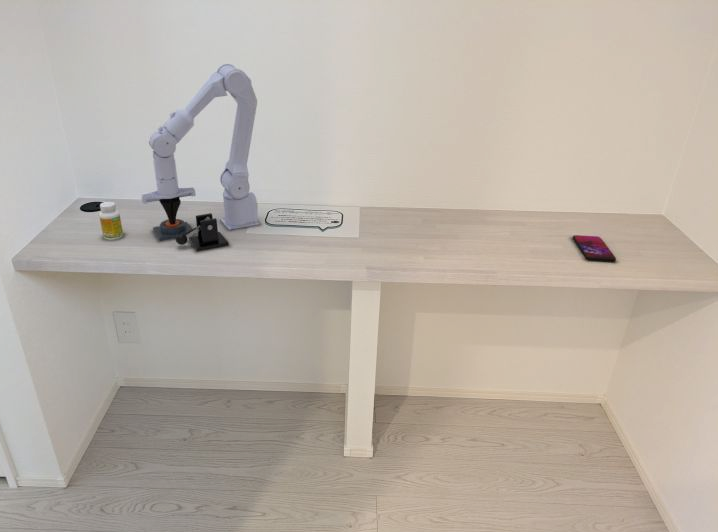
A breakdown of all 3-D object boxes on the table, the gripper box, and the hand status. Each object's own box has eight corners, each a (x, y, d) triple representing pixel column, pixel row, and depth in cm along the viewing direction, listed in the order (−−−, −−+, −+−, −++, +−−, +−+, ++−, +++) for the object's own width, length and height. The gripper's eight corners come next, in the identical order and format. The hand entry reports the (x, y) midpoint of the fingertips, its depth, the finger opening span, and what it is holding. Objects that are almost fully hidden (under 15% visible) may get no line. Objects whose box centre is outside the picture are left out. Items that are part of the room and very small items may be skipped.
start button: (178, 224, 167) (177, 219, 167) (181, 229, 164) (181, 224, 163) (164, 227, 166) (163, 221, 165) (167, 232, 163) (167, 226, 162)
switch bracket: (196, 252, 155) (194, 225, 151) (188, 241, 162) (185, 215, 158) (228, 246, 159) (226, 220, 155) (219, 235, 165) (217, 209, 161)
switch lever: (180, 248, 155) (174, 239, 153) (177, 244, 158) (171, 235, 156) (215, 227, 157) (210, 218, 155) (212, 223, 160) (206, 214, 158)
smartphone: (599, 236, 165) (617, 259, 152) (599, 239, 166) (616, 262, 153) (572, 234, 166) (587, 257, 153) (571, 237, 166) (586, 260, 153)
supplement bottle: (117, 241, 161) (111, 208, 156) (99, 239, 162) (93, 206, 157) (126, 233, 165) (121, 201, 160) (109, 231, 166) (103, 199, 161)
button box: (187, 225, 171) (186, 215, 169) (194, 235, 165) (193, 225, 163) (153, 231, 167) (151, 221, 165) (159, 241, 161) (158, 231, 159)
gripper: (188, 169, 163) (193, 213, 170) (136, 176, 158) (143, 222, 164) (195, 176, 158) (200, 222, 165) (141, 184, 152) (149, 231, 159)
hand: (172, 222), depth 164 cm, fingers closed, pressing on start button
